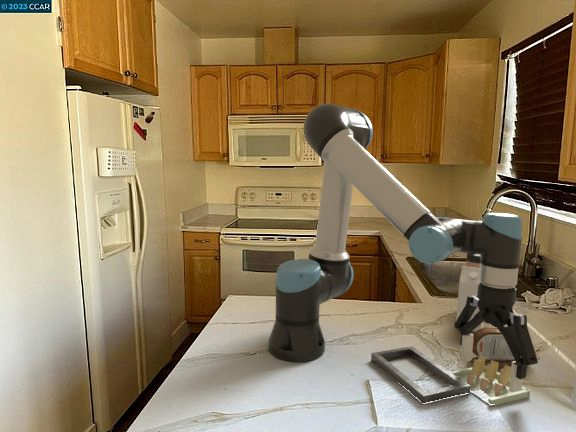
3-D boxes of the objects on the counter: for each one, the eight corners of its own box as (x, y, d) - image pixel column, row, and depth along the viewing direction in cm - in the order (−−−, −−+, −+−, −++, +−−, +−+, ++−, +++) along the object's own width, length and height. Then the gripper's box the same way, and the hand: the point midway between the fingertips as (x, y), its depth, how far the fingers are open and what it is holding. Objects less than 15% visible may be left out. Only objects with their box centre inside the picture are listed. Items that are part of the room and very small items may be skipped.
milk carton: (459, 320, 129) (463, 263, 127) (483, 325, 126) (488, 267, 123) (455, 328, 123) (460, 268, 121) (481, 333, 120) (486, 272, 117)
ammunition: (479, 353, 96) (466, 364, 90) (513, 365, 90) (502, 378, 85) (478, 372, 96) (464, 384, 91) (511, 385, 91) (499, 398, 85)
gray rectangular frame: (423, 405, 83) (423, 396, 83) (371, 360, 102) (371, 353, 101) (469, 394, 88) (470, 385, 87) (411, 353, 106) (412, 346, 106)
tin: (523, 356, 106) (526, 326, 104) (531, 362, 102) (534, 331, 101) (467, 356, 105) (470, 326, 104) (473, 362, 102) (476, 331, 101)
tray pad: (491, 406, 83) (491, 400, 83) (449, 377, 94) (449, 371, 94) (529, 396, 87) (529, 390, 87) (484, 370, 98) (485, 364, 98)
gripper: (565, 300, 77) (553, 402, 80) (467, 268, 100) (460, 348, 103) (537, 304, 75) (526, 409, 77) (443, 270, 98) (437, 352, 101)
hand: (488, 374), depth 90 cm, fingers open, 13 cm apart
